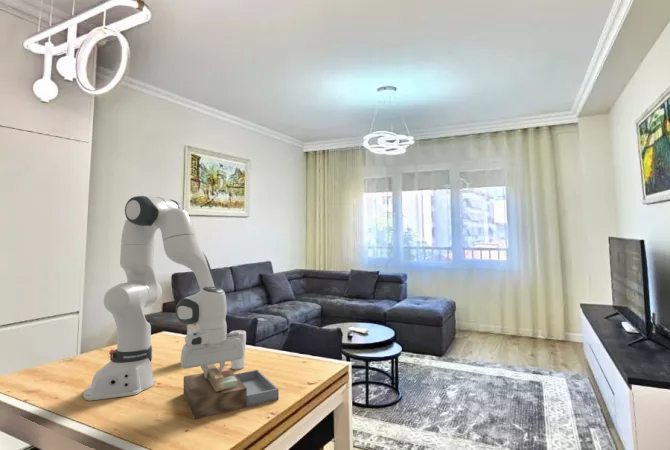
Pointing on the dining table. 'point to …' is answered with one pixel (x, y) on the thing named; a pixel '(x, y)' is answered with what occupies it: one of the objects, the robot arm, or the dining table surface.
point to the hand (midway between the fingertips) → (212, 376)
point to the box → (258, 388)
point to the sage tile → (230, 382)
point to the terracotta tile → (224, 371)
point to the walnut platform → (212, 396)
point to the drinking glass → (240, 363)
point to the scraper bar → (215, 377)
